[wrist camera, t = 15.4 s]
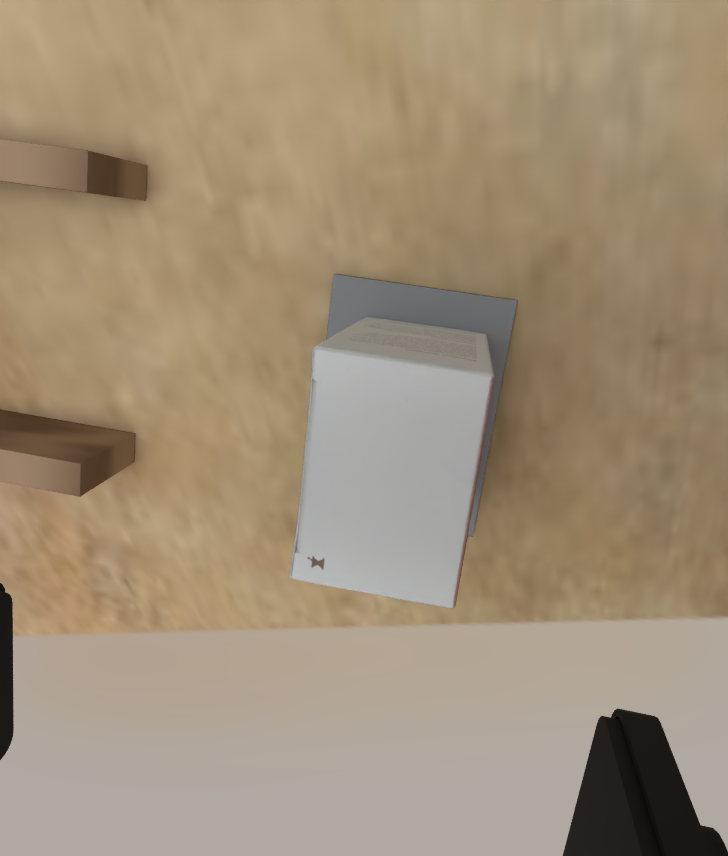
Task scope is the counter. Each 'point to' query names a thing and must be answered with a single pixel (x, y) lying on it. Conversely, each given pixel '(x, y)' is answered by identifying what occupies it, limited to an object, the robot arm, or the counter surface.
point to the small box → (392, 459)
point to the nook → (42, 437)
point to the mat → (434, 309)
